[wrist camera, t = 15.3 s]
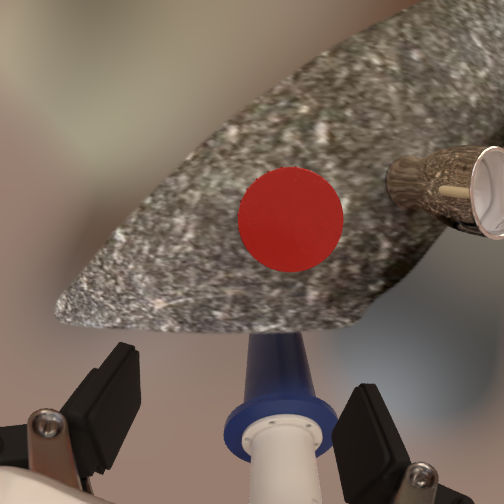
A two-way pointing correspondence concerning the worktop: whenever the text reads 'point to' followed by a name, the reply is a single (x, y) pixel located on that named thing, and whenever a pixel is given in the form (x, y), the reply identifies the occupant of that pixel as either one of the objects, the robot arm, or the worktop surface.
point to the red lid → (290, 219)
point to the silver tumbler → (454, 187)
